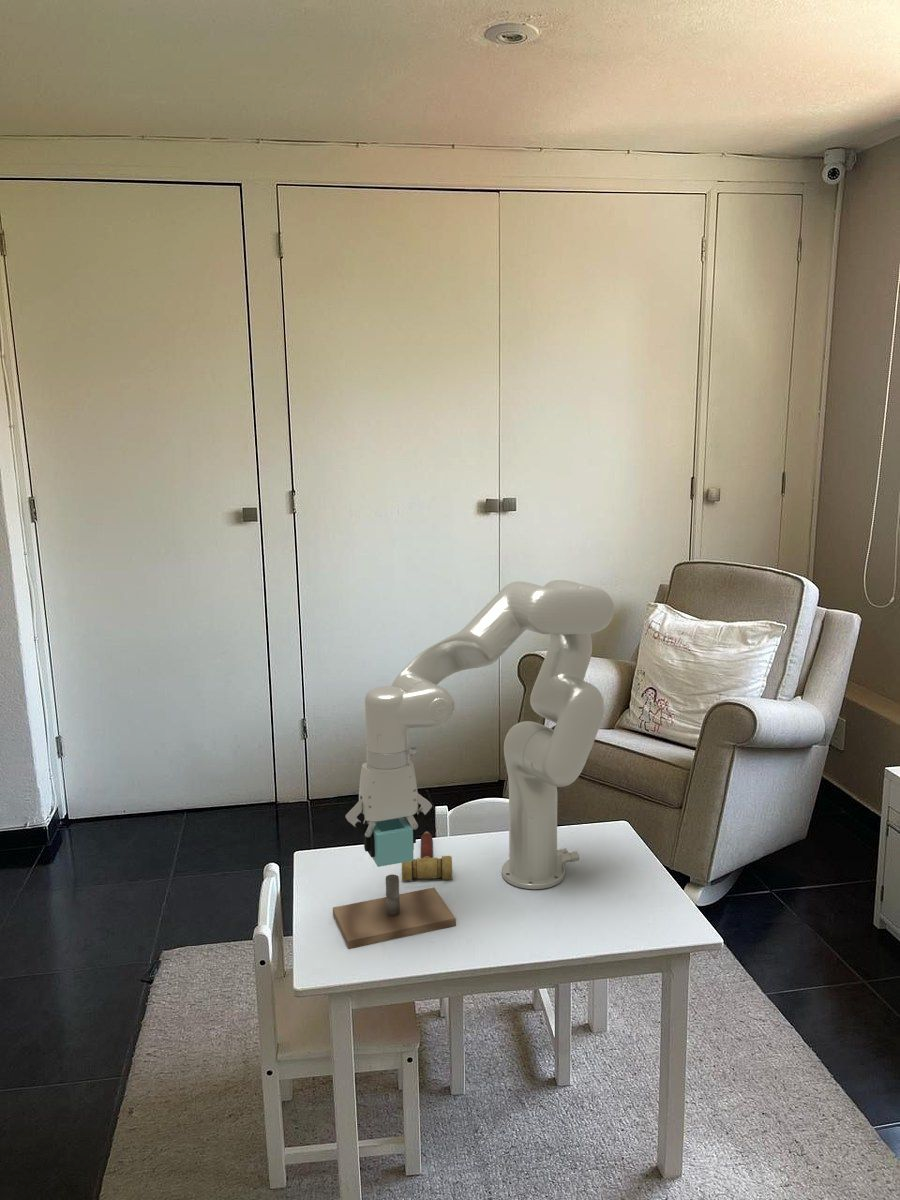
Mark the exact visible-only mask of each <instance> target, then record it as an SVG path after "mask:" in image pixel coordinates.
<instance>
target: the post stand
mask: <svg viewBox="0 0 900 1200" xmlns="http://www.w3.org/2000/svg"><path fill="white" fill-rule="evenodd" d="M385 891H386V892H385V896H384V897H379V898H375V899H369V900H364V901H360V902H355V903H350V904H349V903H348V904H343V905H340V906H339V905H338V906H334V907H332V916H333V918H334V920H335V923H336V925H337V927H338V929H339V931H340V934H341V936H342V938H343V940H344V942H345V945H346V947H347V949H354V948H359V947H363V946H368V945H373V944H377V943H381V942H387V941H391V940H395V939H400V938H405V937H410V936H414V935H420V934H424V933H428V932H434V931H437V930H442V929H447V928H451V927H456V926H457V918H456V916H455V915H454V914H453V912H452V910H451V909H450V908H449V906H448V905H447V903H446V902H445V901H444V899H443V898H442V896H441V895H440V894H439V892H438V891H437V889H436V888H435V887H429V888H424V889H420V890H415V891H410V892H404V893H400V877H399V876H398V875H397V874H388V875H386V876H385Z"/></svg>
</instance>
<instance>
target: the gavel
mask: <svg viewBox="0 0 900 1200" xmlns="http://www.w3.org/2000/svg"><path fill="white" fill-rule="evenodd" d="M433 840H434V839H433V835H432V834H431V833H430V832H429V831H424V833H423V834H421V836H420V857H418V858H416V859H414V858H413V860H414V861H409V862H403V863H401V880H402V881H404V880H413V879H417V880H419V879H420V880H421V879H422V880H423V879H429V880H430V879H438V878H442V880H445V881H446V880H452V879H453V856H452V855H441V858H437V857H434V847H433V845H434V844H433Z"/></svg>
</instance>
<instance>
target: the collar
mask: <svg viewBox="0 0 900 1200" xmlns="http://www.w3.org/2000/svg"><path fill="white" fill-rule="evenodd" d="M373 836H374V845H375V856H374V857H371V859H372V860H373V861H374V863H375V864H376V866H377V868H379V867H387V866H391V865H397V864H402V863H403V862H409V861H414V860H413V859H414V850H413V829H412V828H411V826H410V825H409V823H408V822H407V820H406V818H405V817H404V818H398V819H392V820H386V821H379V822H377V823H376V825H375V827H374V830H373Z"/></svg>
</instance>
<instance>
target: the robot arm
mask: <svg viewBox="0 0 900 1200" xmlns="http://www.w3.org/2000/svg"><path fill="white" fill-rule="evenodd" d="M613 601H614V600H613V599H612V597H611V596H610V594H608V592H607V591H605V590H604V589H602V588H598V587H595V586H591V585H587V584H583V583H578V582H574V581H571V580H565V579H554V580H551V581H548V582H547V583H545V585H539V584H535V583H530V582H528V581H527V582H526V581H513V582H510V583H508V584H507V585H505V586H504V587H502V589H501V590H499V591H498V593H497V594H496V595H495V596H494V597H493V598H492V599H491V600H490V601H489V602H488V603H487V604H486V605H485V606H484V607H483V608H482V609H481V610H480V611H479V612H478V613H477V614H476V615H475V616H474V617H473V618H472V619H471V620H470V621H469V622H468V623H467V624H466V625H465V626H464V627H463V628H462V629H461V630H460V631H459V632H456V633H455V634H452V635H451V636H448V637H446V638H444V639H442V640H440V641H439V642H437V643H434V644H432V645H431V646H429V647H427V648H426V649H424V650H423V651H421V652H420V653H419V654H418V655H416V656H415V657H414V658H413V659H412V660H411V661H410V662H409V663H408V664H407V665H406V666H405V667H404V668H403V669H402V670H401V671H400V673H399V674H398V675H397V676H396V677H395V679H394V680H393V682H392V684H391V686H390V685H388V686H379V687H378V686H377V687H374V688H372V689H370V690H368V691H367V693H366V694H365V698H364V711H365V715H364V716H365V743H366V745H365V746H366V762H363V763H362V765H361V770H360V776H359V787H358V788H359V791H358V801H357V802H356V803H355V805H354V806H353V807H352V808H351V809H349V811H348V812H347V813H346V814H345V819H346V820H347V822H348V823H350V824H351V825H352V826H353V827H354V828H356V829H357V830H358V831H359V832H360V833H362V834H363V847H364V851H365V852H367V853H368V854H369V856H370V858H372V857H374V856H375V845H374V836H373V830H374V827H375V825H376V823H377V822H379V821H386V820H392V819H398V818H405V819H406V821H407V822H408V823H409V825H410V826H411V828H412V829H413V851H414V849H415V848H414V844H416V843H417V840H416V839H417V834H416V832H417V831H416V830H417V829H418V828H419V824H420V823H421V822H422V821H423V819H425V816H426V815H427V814H428V812H430V810H431V809H432V807H433V805H432V803H431V802H430V801H429V800H428V799H426V798H425V797H423V796H422V795H421V794H420V793H419V792H418V785H417V778H416V772H415V767H414V763H413V761H412V760H411V758H412V757H411V756H413V755H417V753H418V750H417V747H416V746H410V741H409V739H410V737H409V736H410V735H409V732H410V731H409V729H414V728H417V729H418V728H420V729H421V728H423V729H424V728H426V729H427V728H436V727H439V726H441V725H444V724H446V723H447V722H448V721H449V720H450V719H451V718H452V716H453V714H454V711H455V701H454V698H453V696H452V694H451V693H450V692H449V691H448V690H447V689H446V688H444V687H442V686H440V685H439V684H440V683H441V682H442V681H444V680H446V678H447V677H449V676H452V675H453V674H456V673H458V672H461V671H462V672H463V671H465V670H473V669H478V668H479V669H480V668H482V667H486V666H487V667H488V666H491V665H494V664H495V663H496V662H497V661H498V660H499V659H500V657H502V656H503V655H504V653H506V651H507V650H508V649H509V648H510V647H511V646H512V645H513V644H514V643H515V642H516V641H517V640H518V638H520V636H521V635H522V634H523V633H524V632H525V631H530V632H533V633H536V634H541V635H549V644H548V647H547V652H546V654H545V658H544V660H543V662H542V665H541V668H540V669H539V672H538V675H537V677H536V680H535V682H534V685H533V687H532V690H531V693H530V695H529V696H530V699H529V704H530V707H531V708H532V710H533V712H535V713H536V715H538V716H541V718H544V719H546V720H548V721H550V722H552V723H554V724H555V727H554V729H553V728H550V727H549V726H546V725H544V724H542V723H540V722H539V723H538V722H536V721H528V720H526V721H524V720H523V721H520V722H517V723H516V724H514V725H513V726H511V728H510V729H509V730H508V731H507V734H506V735H505V738H504V742H503V754H504V756H503V757H504V761H505V766H506V767H505V768H506V771H507V777H508V778H507V780H508V781H507V782H508V838H509V839H508V852H509V853H508V854H509V855H508V857H509V859H508V860H506V861H505V862H504V863H503V864H502V866H501V876H502V878H503V879H504V881H506V882H507V883H508V884H511V885H512V886H514V887H516V888H522V889H527V890H542V889H548V888H553V887H554V886H556V885H559V884H560V883H561V882H562V881H563V880H564V878H565V874H566V872H565V867H564V865H566V863H572V862H573V863H574V862H579V861H580V854H579V851H577V850H575V851H569V852H568V849H567V848H560V849H558V788H565V787H567V786H569V785H571V784H572V783H574V782H575V781H576V780H577V779H578V778H579V776H580V774H581V773H582V771H583V769H584V768H585V765H586V762H587V760H588V758H589V755H590V753H591V750H592V748H593V745H594V743H595V740H596V738H597V735H598V733H599V730H600V727H601V725H602V722H603V718H604V714H605V703H604V702H605V701H604V697H603V695H602V693H601V691H600V689H598V688H597V687H596V686H595V685H594V684H592V683H589V682H588V681H585V677H586V673H587V671H588V668H589V665H590V662H591V658H592V652H593V643H592V641H593V640H592V636H591V634H596V633H599V632H600V631H603V630H604V629H605V628H607V627H608V626H609V624H611V621H612V620H613V618H614V614H615V605H614V602H613ZM419 805H420V807H419ZM360 814H363V817H364V820H363V822H362V821H361V820H360V819H359V818H358V816H359V815H360Z"/></svg>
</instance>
